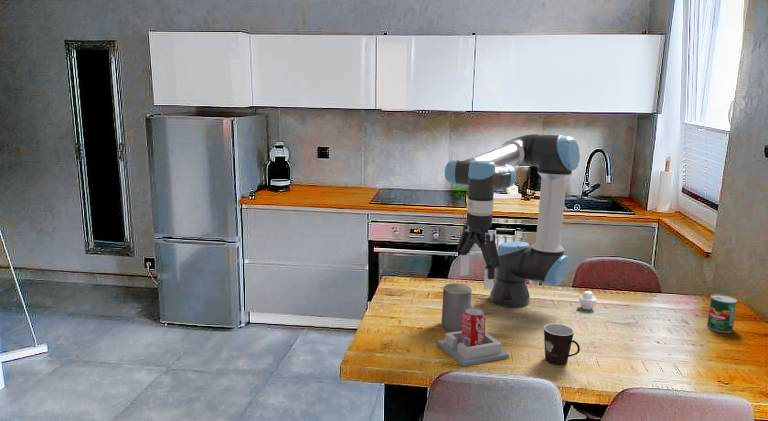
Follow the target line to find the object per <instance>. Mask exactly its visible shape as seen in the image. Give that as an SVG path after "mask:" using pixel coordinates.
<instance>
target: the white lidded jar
mask: <svg viewBox="0 0 768 421" xmlns="http://www.w3.org/2000/svg"><path fill="white" fill-rule="evenodd" d="M578 300H579V303H580V305H581V308H582V309H583V310H585V311H591V310H592V309H593V307H594V306H595V305H596V303H597V298H596V297H595V296H594V292H592V291H590V290H584V292H583V293H582V294H581V295H580V296H579V298H578Z"/></svg>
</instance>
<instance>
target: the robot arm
mask: <svg viewBox="0 0 768 421" xmlns="http://www.w3.org/2000/svg"><path fill="white" fill-rule="evenodd" d="M580 154H581V153H580V147H579V144H578V142H577V140H576V138H574V137H572V136H567V135H563V134H560V135H555V134H540V133H533V134H531V133H530V134H526V135H525V134H524V135H520V136H518V137H514V138H511V139H509V140H506V141H504V143H502V145H501V146H498V147H497V148H493V149H490V150H487V151H485V152H483V153H480V154H478V155H475V156H473V157H470V158H467V159H463V160H459V159H458V160H454V159H453V160H450V161H448V162H447V163H446V165H445V168H444V177H445V180H446V182H448V183H450V184H455V185H462V186H467V187H468V188H467V204H466V206H467V208H466V212H467V214H466V221H465V222H466V224H463V227H462V228H463V229H462V233H461V236H460V237H459V240H458V244H457V247H456V251H457V252H459V254H460V268H459V270H460V271H459V272H460V273H459V275H460V276H461V277H462V276H469V275H470V262H471V260H470V256H471V255H470V254H471V252H470V251H471V249H473V247H474V245H475V244H476V245H477V246H478V248H479V249H480V251H481V253H482V256H483V259H484V262H485V264H486V265H485V267H484V276H483V277H484V278H483V279H484V281H483V290H491V291H490V293H489V294H490V295H489V301H490V302H492V303H493V304H496V305H497V306H501V307H506V308H507V307H508V308H522V307H526V306H529V304H530V301H531V300H530V299H531V296H530V291H529V289H528V285H527V280H528V281H532V282H537V283H540V284H544V285H548V286H555V287H556V286H558V285H560V284H561V283H562V282H563V281H564V280H565V277H566V275H567V273H568V271H569V267H570V258H569V256H568V255H565V248H564V247H563V246H562V244H561V241H562V229H563V219H564V210H565V200H566V189H567V179H569V177H571V176H572V171H575V170H577V169H578V166H579V163H580V158H581V155H580ZM518 166H530V167H537V174H538V175H539V176H540V177H541V178H540V179H541V181H540V190H539V191H540V192H539V202H538V216H537V227H536V239H535V242H534V243H533V244H531V246H530V244H529V243H528V242H526V241H518V240H516V241H506V242H502V243H500V244H499V245H498V246H497V245H496V244H497V243H496V235H495V233H494V232H493V233H489V229H490V228H491V227H492V226H493V214H492V213H493V212H494V194H495V193H494V192H496V191H500V190H505V189H508V188H511V187H512V186H513V185H514V184H515V183H516V181H517V173H516V170H515V168H514V167H518ZM494 279H495V280H494Z"/></svg>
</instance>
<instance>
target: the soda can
mask: <svg viewBox="0 0 768 421" xmlns="http://www.w3.org/2000/svg"><path fill="white" fill-rule="evenodd" d="M484 312H485V311H484V310H483V309H482V308H478V307H471V308H467V309H465V313H464V314H463V319H462V337H461V340H462V343H463V344H464V345H466V346H467V347H471V346H476V345H482V344H484V338H485V332H486V315H485V313H484Z"/></svg>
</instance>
